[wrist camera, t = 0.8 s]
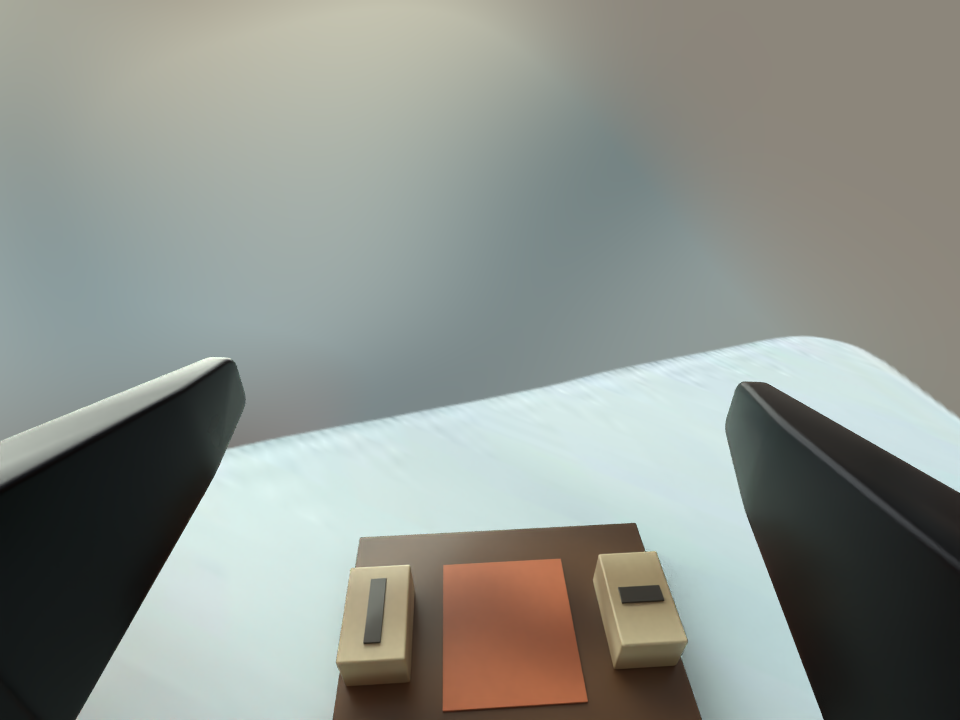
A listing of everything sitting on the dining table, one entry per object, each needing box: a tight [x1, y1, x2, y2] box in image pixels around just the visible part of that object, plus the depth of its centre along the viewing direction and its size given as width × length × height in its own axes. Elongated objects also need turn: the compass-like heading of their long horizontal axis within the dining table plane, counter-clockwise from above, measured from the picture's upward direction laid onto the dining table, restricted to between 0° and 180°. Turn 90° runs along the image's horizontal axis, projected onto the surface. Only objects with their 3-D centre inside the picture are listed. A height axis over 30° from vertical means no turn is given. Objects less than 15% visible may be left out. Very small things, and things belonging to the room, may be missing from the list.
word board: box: [333, 523, 702, 720], centre depth 21 cm, size 9×13×4 cm
